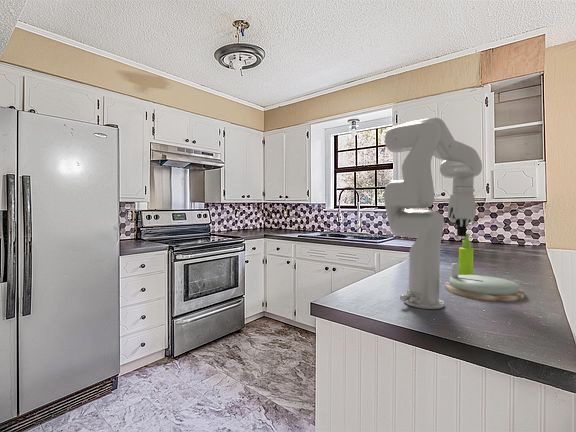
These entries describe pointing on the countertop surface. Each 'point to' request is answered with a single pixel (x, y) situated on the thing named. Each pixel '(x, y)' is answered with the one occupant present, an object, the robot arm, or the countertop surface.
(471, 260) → the soap dispenser
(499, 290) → the dial
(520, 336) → the countertop surface
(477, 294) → the base
